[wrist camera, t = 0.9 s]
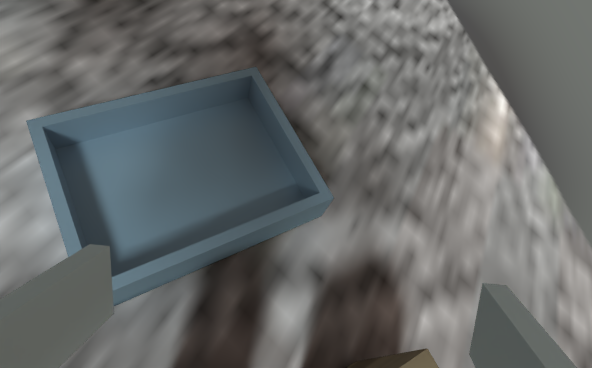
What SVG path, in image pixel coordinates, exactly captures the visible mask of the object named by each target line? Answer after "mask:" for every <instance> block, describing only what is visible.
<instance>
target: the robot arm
mask: <svg viewBox="0 0 592 368" xmlns="http://www.w3.org/2000/svg"><path fill="white" fill-rule="evenodd" d="M113 314H114V306H113V290H112V275H111V259H110V246H104V245H94V244H89V245H88V246H86V247H84V248H83V249H81V250H79V251H78V252H76V253H75V254H73V255H71V256H70V257H68V258H66V259H65V260H63V261H62V262H60V263H58V264H57V265H55V266H53V267H52V268H50V269H49V270H47V271H45V272H44V273H42V274H40V275H39V276H37V277H36V278H34V279H32V280H31V281H29V282H27V283H26V284H24V285H23V286H21V287H19V288H18V289H16V290H14V291H13V292H11V293H10V294H8V295H6V296H5V297H3V298H1V299H0V368H59V367H60V366H61V365H62V364H63V363H64V362H65V361H66V360H67V359H68V358H69V357H70V356H71V355H72V354H73V353H74V352H75V351H76V350H77V349H78V348H79V347H80V346H81V345H82V344H83V343H84V342H85V341H86V340H87V339H88V338H89V337H90V336H91V335H92V334H93V333H94V332H96V331H97V330H98V329H99V328H100V327H101V326H102V325H103V324H104V323H105V322H106V321H107V320H108V319H109V318H110V317H111V316H112V315H113ZM469 355H470V357H471V359H472V361H473V363H474V365H475V367H476V368H577V367H576V366H575V365H574V364H573V362H572V361H571V360H570V359H569V358H568V357H567V355H566V354H565V353H564V352H563V351H562V350H561V348H560V347H559V346H558V345H557V344H556V343H555V341H554V340H553V339H552V338H551V337H550V336H549V334H548V333H547V332H546V331H545V330H544V329H543V327H542V326H541V325H540V324H539V323H538V322H537V320H536V319H535V318H534V317H533V316H532V315H531V313H530V312H529V311H528V310H527V309H526V308H525V306H524V305H523V304H522V303H521V302H520V301H519V299H518V298H517V297H516V296H515V295H514V294H513V292H512V291H511V290H510V289H509V288H508V287H507V286H506V285H496V284H486V283H483V284H482V289H481V295H480V300H479V305H478V311H477V316H476V321H475V326H474V332H473V337H472V342H471V348H470V353H469Z"/></svg>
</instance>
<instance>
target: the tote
mask: <svg viewBox="0 0 592 368" xmlns="http://www.w3.org/2000/svg"><path fill="white" fill-rule="evenodd" d="M26 122H27V125H28V128H29V131H30V134H31V138H32V141H33V144H34V147H35V151H36V154H37V157H38V160H39V163H40V167H41V170H42V173H43V176H44V180H45V183H46V186H47V189H48V192H49V196H50V199H51V202H52V205H53V209H54V212H55V215H56V218H57V222H58V225H59V228H60V231H61V234H62V238H63V241H64V244H65V247H66V251H67V254H68V257H70V256H71V255H73V254H75V253H76V252H78V251H79V250H81V249H83V248H84V247H86V246H88V245H89V244H94V245H104V246H110V259H111V275H112V290H113V306H116V305H118V304H120V303H123V302H125V301H127V300H129V299H132V298H134V297H136V296H139V295H141V294H143V293H146V292H148V291H150V290H152V289H155V288H157V287H159V286H162V285H164V284H166V283H169V282H171V281H173V280H175V279H178V278H180V277H182V276H185V275H187V274H189V273H192V272H194V271H196V270H198V269H201V268H203V267H205V266H208V265H210V264H212V263H215V262H217V261H219V260H221V259H224V258H226V257H228V256H231V255H233V254H235V253H237V252H240V251H242V250H244V249H247V248H249V247H251V246H254V245H256V244H258V243H260V242H263V241H265V240H267V239H270V238H272V237H274V236H277V235H279V234H281V233H283V232H286V231H288V230H290V229H293V228H295V227H297V226H300V225H302V224H304V223H306V222H309V221H311V220H313V219H316V218H318V217H320V216H322V214H323V213H324V212H325V210H326V209H327V207H328V206H329V204H330V203H331V202H332V200H333V199H334V197H333V195H332V194H331V192H330V190H329V189H328V187H327V185H326V184H325V182H324V180H323V179H322V177H321V175H320V173H319V172H318V170H317V168H316V167H315V165H314V163H313V162H312V160H311V158H310V157H309V155H308V153H307V152H306V150H305V148H304V147H303V145H302V143H301V141H300V140H299V138H298V136H297V135H296V133H295V131H294V130H293V128H292V126H291V125H290V123H289V121H288V120H287V118H286V116H285V114H284V113H283V111H282V109H281V108H280V106H279V104H278V103H277V101H276V99H275V98H274V96H273V94H272V93H271V91H270V89H269V88H268V86H267V84H266V82H265V81H264V79H263V77H262V76H261V74H260V72H259V71H258V69H257V67H253V68H248V69H244V70H240V71H236V72H231V73H227V74H223V75H219V76H214V77H210V78H206V79H202V80H197V81H193V82H189V83H185V84H180V85H176V86H172V87H168V88H163V89H159V90H155V91H151V92H146V93H142V94H138V95H134V96H129V97H125V98H121V99H117V100H112V101H108V102H104V103H100V104H95V105H91V106H87V107H83V108H78V109H74V110H70V111H66V112H61V113H57V114H53V115H49V116H44V117H40V118H36V119H32V120H27V121H26Z"/></svg>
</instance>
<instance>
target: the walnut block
mask: <svg viewBox="0 0 592 368" xmlns="http://www.w3.org/2000/svg"><path fill="white" fill-rule="evenodd" d="M346 368H439V367H438V366H437V364H436V362H435V361H434V359H433V357H432V355H431V354H430V352H429V350H428V349H422V350H416V351H411V352H406V353H400V354H395V355H389V356H384V357H378V358H373V359H367V360H362V361H356V362H354V363H353V364H351V365H350V366H348V367H346Z"/></svg>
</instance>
